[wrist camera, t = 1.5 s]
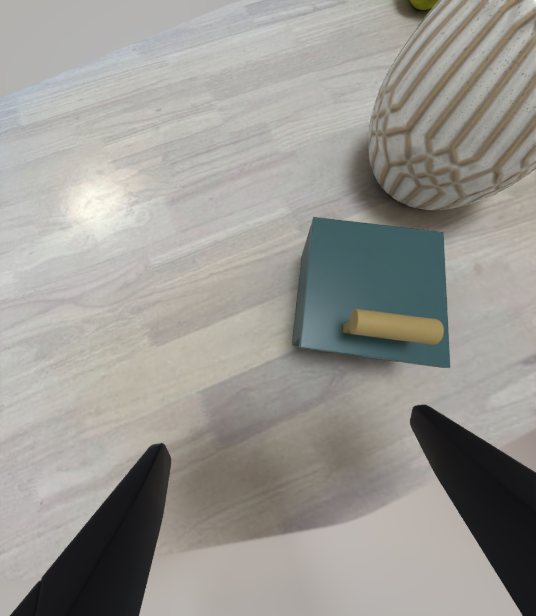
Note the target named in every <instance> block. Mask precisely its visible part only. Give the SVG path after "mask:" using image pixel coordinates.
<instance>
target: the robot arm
mask: <svg viewBox="0 0 536 616" xmlns="http://www.w3.org/2000/svg"><path fill="white" fill-rule="evenodd" d="M410 425H411V428H412V430H413V432H414V434H415V436H416V438H417V440H418V442H419V444H420V446H421V448H422V450H423V452H424V454H425V456H426V458H427V459H428V461H429V463H430V465H431V467H432V469H433V471H434V473H435V475H436V476H437V478H438V480H439V481H440V483H441V485H442V486H443V488H444V489H445V491H446V493H447V494H448V496H449V497H450V499H451V500H452V502H453V504H454V506H455V507H456V509H457V510H458V512H459V514H460V515H461V517H462V518H463V520H464V521H465V523H466V525H467V526H468V528H469V530H470V531H471V533H472V535H473V536H474V538H475V539H476V541H477V543H478V544H479V546H480V547H481V549H482V551H483V552H484V554H485V555H486V557H487V559H488V560H489V562H490V564H491V565H492V567H493V568H494V570H495V572H496V573H497V575H498V576H499V578H500V579H501V581H502V583H503V584H504V586H505V588H506V589H507V591H508V592H509V594H510V596H511V597H512V599H513V600H514V602H515V604H516V605H517V607H518V608H519V610H520V612H521V613H522V615H523V616H536V472H534V471H532V470H531V469H529V468H528V467H526V466H524V465H523V464H521V463H520V462H518V461H516V460H515V459H513V458H512V457H510V456H508V455H507V454H505V453H504V452H502V451H500V450H499V449H497V448H495V447H494V446H492V445H491V444H489V443H487V442H486V441H484V440H483V439H481V438H479V437H478V436H476V435H475V434H473V433H471V432H470V431H468V430H466V429H465V428H463V427H462V426H460V425H458V424H457V423H455V422H454V421H452V420H450V419H449V418H447V417H446V416H444V415H442V414H441V413H439V412H437V411H436V410H434V409H433V408H431V407H429V406H428V405H417V406H414V407H413V409H412V414H411V418H410ZM170 468H171V456H170V454H169V452H168V450H167V448H166V446H165V444H163V443H159V444H153V445H151V446H150V447H149V448H148V449H147V451H146V452H145V453H144V454H143V455H142V457H141V458H140V459H139V460H138V461H137V463H136V464H135V465H134V466H133V468H132V469H131V470H130V471H129V472H128V474H127V475H126V476H125V477H124V478H123V480H122V481H121V482H120V483H119V484H118V486H117V487H116V488H115V489H114V491H113V492H112V493H111V494H110V495H109V497H108V498H107V499H106V500H105V501H104V503H103V504H102V505H101V506H100V508H99V509H98V510H97V511H96V512H95V514H94V515H93V516H92V517H91V518H90V520H89V521H88V522H87V523H86V524H85V526H84V527H83V528H82V529H81V531H80V532H79V533H78V534H77V535H76V537H75V538H74V539H73V540H72V541H71V543H70V544H69V545H68V546H67V548H66V549H65V550H64V551H63V552H62V554H61V555H60V556H59V557H58V558H57V560H56V561H55V562H54V563H53V564H52V566H51V567H50V568H49V569H48V571H47V572H46V573H45V574H44V575H43V577H42V579H41V581H39V582H38V583H37V584H36V585H35V586H34V587H33V589H32V590H31V591H30V592H29V594H28V595H27V596H26V597H25V598H24V599H23V601H22V602H21V603H20V604H19V605H18V607H17V608H16V609H15V610H14V611H13V613H12V614H11V615H10V616H139V613H140V609H141V605H142V601H143V597H144V593H145V588H146V584H147V580H148V576H149V572H150V568H151V564H152V560H153V556H154V552H155V548H156V543H157V539H158V535H159V531H160V527H161V523H162V518H163V513H164V507H165V501H166V494H167V488H168V481H169V475H170Z"/></svg>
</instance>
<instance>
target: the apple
mask: <svg viewBox="0 0 536 616" xmlns="http://www.w3.org/2000/svg"><path fill="white" fill-rule="evenodd" d="M409 1H410V2H411V4H412V5H413V6H414V7H415V8H416V9H419V10H427V9H430V8H432V7H433V6H434V5H435V4H436V3H437V2H438V1H439V0H409Z"/></svg>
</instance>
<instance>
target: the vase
mask: <svg viewBox="0 0 536 616" xmlns="http://www.w3.org/2000/svg"><path fill="white" fill-rule="evenodd" d="M368 152H369V159H370V165H371V168H372V171H373V174H374V176H375V177H376V179H377V181H378V183H379V184H380V186H381V187H382V188H383V189H384V190H385V192H386V193H388V194H389V195H390V196H391V197H392V198H394V199H395V200H397V201H399V202H401V203H403V204H405V205H407V206H410V207H413V208H418V209H425V210H447V209H453V208H458V207H462V206H466V205H469V204H472V203H475V202H478V201H481V200H483V199H486V198H488V197H490V196H493V195H495V194H497V193H498V192H500V191H502V190H504V189H506V188H508V187H509V186H511V185H513V184H514V183H516V182H518V181H519V180H521V179H522V178H524V177H525V176H527V175H528V174H530V173H531V172H532V171H534V170H535V169H536V0H439V1H438V2H437V3H436V4H435V5H434V6H433V7H432V9H431V10H430V11H429V12H428V14H427V15H426V16H425V18H424V19H423V20H422V21H421V23H420V24H419V25H418V27H417V28H416V30H415V31H414V32H413V34H412V35H411V37H410V38H409V39H408V41H407V42H406V44H405V45H404V47H403V48H402V50H401V51H400V53H399V54H398V56H397V58H396V59H395V61H394V63H393V64H392V66H391V68H390V69H389V71H388V73H387V75H386V77H385V79H384V81H383V83H382V85H381V88H380V90H379V93H378V96H377V99H376V102H375V105H374V108H373V112H372V116H371V121H370V125H369V135H368Z"/></svg>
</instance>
